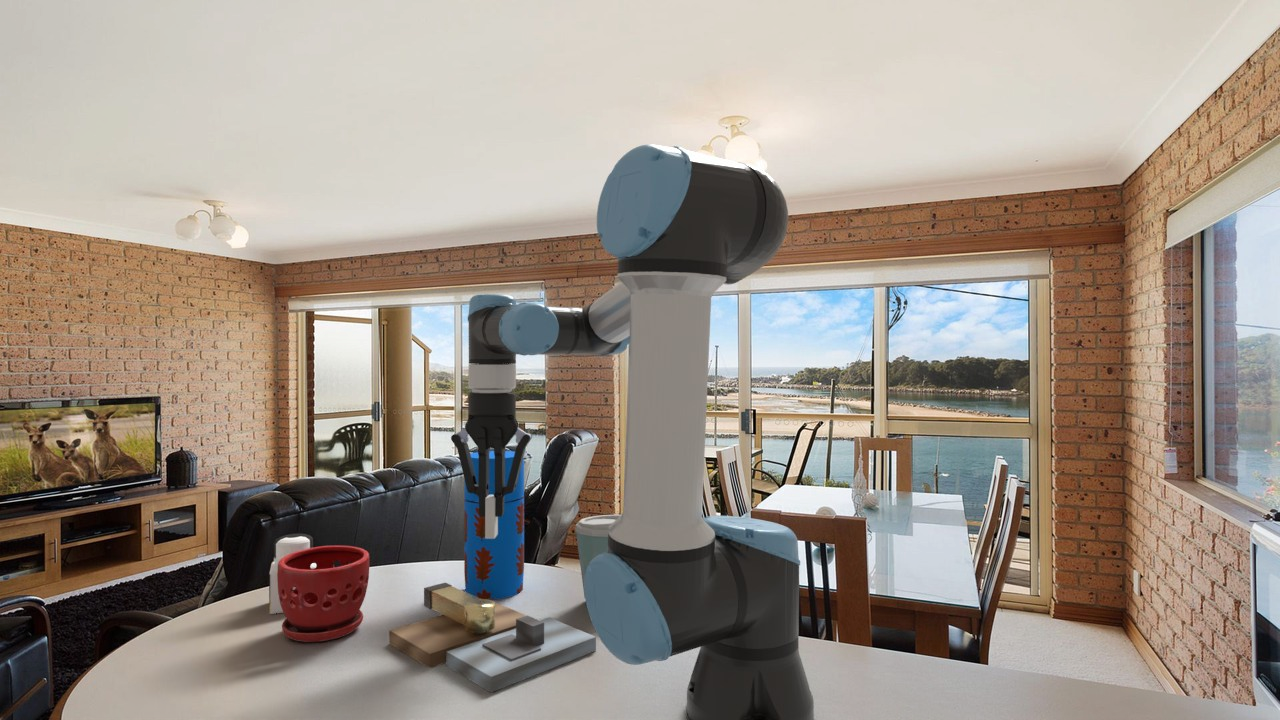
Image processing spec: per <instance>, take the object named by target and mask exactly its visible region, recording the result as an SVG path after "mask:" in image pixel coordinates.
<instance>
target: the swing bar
mask: <svg viewBox="0 0 1280 720" xmlns="http://www.w3.org/2000/svg"><path fill="white" fill-rule="evenodd" d="M495 602H496V601H494V600H493V599H480V598H478V597H476V596H473V595H471V594H469V593H466V591H463V590H461V589H459V588H457V587H455V586H452V584H451V583H447V582H443V583H439V584H434V585H431V586H427V587H424V588H423V607H425V608H427V609H429V610H433V611H435V612H438V613H439V614H441V615H445V616H447V617H449V618H451V619H453V620H455V621H457V622H459V623H461V624H463V625H465V630H466V631H467V632H471V633H483V632H487V631H490V630H492V629H494V628H495Z"/></svg>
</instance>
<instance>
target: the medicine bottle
mask: <svg viewBox="0 0 1280 720" xmlns="http://www.w3.org/2000/svg"><path fill="white" fill-rule="evenodd" d="M308 548H314V538H313V536H311V535H310V534H306V533H290V534H285V535H283V536H280V537H278V538H276V539H275V541H274V542H273V561H272V562H271V564H270V568H269V569H270V570H269V575H268V577H269V578H268V580H269V583H268V585H269V587H268V591H269V593H268V594H269V595H268V598H269V601H268V603H269V604H268V605H269V606H268V608H269V609H268V611H269V612H268V613H269V615H276V613H277V614H284V612H283V610H282V608H281V604H280V600H279V595H278V581H277V571H278V562H279V561H280V559H282V558H283V557H284V556H286V555H288V554H291V553H293V552H296V551H300V550H304V549H308ZM316 566H317V565H316V563H312V564H311V566H310V567H311V569H314V568H316ZM294 589H295V587H293V590H294Z"/></svg>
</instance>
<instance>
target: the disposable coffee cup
mask: <svg viewBox="0 0 1280 720" xmlns="http://www.w3.org/2000/svg"><path fill="white" fill-rule="evenodd" d="M621 515H622V514H603V515H602V514H601V515H594V516H588V517H587V516H586V517H585V518H581V519H580V520H579V521H577V523H576V524H575V529H574V531H575V534H576V540H577V541H576V543H577V551H578V558H579V565H580V573H581V579H582V587H583V596H584V598H585V591H584V579H585V573H586V569H587V567H588V565H590V562H591V560H592V559H593V558H595V557H596V556H598V555H599V554H601V553H604V552H608V531H609V527H610V525H611V524H612V523H613V522H614V521H616V520H617V519H618V518H619V517H620V516H621Z"/></svg>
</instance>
